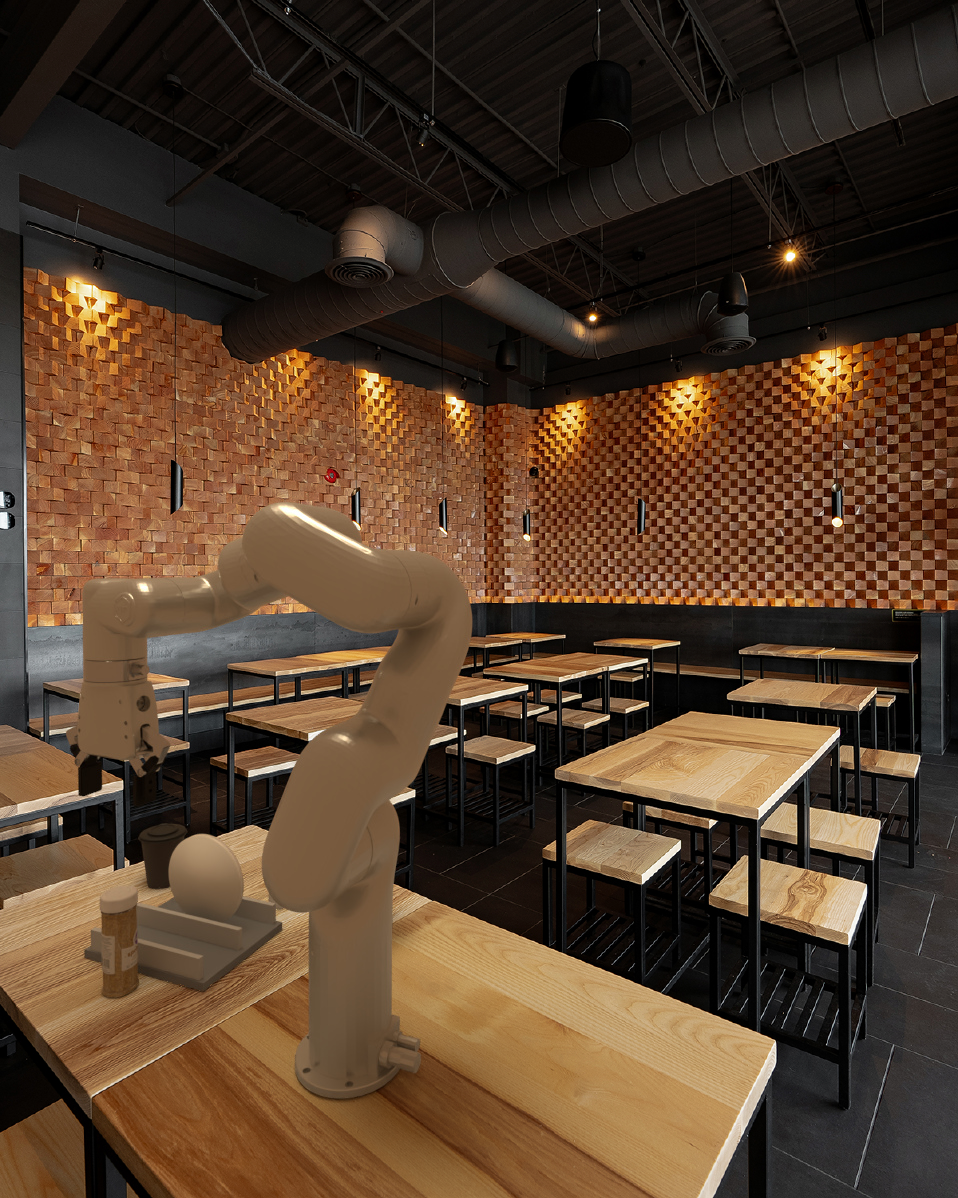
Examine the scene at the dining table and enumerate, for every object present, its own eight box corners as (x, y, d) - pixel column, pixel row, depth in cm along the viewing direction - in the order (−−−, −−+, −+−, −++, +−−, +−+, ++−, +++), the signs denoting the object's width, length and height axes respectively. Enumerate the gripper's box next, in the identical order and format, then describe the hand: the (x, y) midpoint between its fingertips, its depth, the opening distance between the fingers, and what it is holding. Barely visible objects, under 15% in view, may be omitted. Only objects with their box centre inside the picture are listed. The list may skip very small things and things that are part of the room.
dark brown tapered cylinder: (172, 868, 129) (172, 816, 128) (197, 880, 124) (196, 826, 123) (129, 884, 122) (129, 829, 122) (153, 897, 117) (153, 840, 117)
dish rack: (282, 929, 107) (281, 835, 107) (203, 992, 91) (202, 881, 91) (174, 904, 115) (173, 815, 114) (84, 957, 99) (82, 855, 98)
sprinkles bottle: (141, 991, 91) (139, 894, 91) (102, 1003, 89) (101, 903, 88) (136, 974, 95) (135, 880, 95) (99, 985, 93) (98, 889, 92)
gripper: (188, 671, 90) (188, 798, 91) (93, 663, 97) (94, 782, 97) (142, 680, 83) (143, 817, 84) (42, 670, 90) (44, 798, 90)
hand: (117, 798), depth 91 cm, fingers open, 9 cm apart
